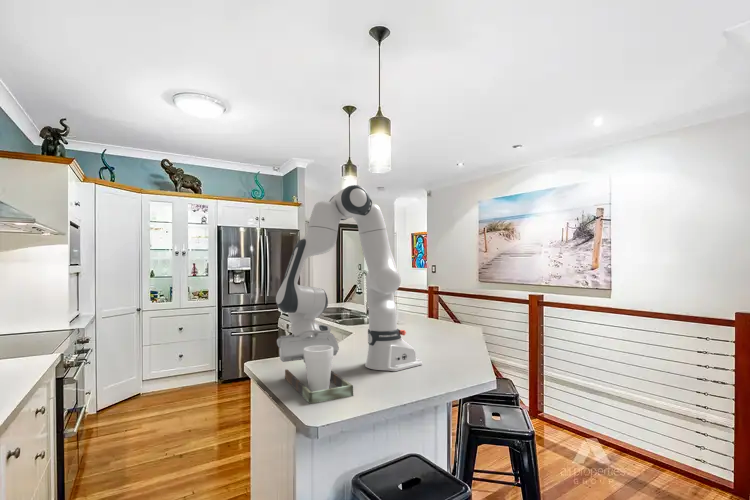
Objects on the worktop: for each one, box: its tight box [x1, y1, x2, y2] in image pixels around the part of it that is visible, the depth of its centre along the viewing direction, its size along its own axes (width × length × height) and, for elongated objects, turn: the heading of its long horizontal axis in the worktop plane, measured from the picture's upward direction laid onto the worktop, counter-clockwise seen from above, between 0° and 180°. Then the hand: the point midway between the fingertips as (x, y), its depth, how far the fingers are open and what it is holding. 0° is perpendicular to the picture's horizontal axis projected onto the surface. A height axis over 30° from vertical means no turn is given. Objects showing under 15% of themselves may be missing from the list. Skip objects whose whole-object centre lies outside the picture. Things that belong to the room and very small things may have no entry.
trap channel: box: [284, 369, 354, 405], centre depth 123 cm, size 14×28×3 cm, turn 28°
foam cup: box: [304, 345, 334, 392], centre depth 120 cm, size 10×9×13 cm
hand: (314, 368), depth 125 cm, fingers closed, pressing on foam cup
